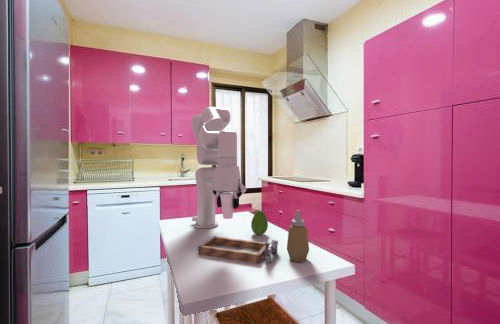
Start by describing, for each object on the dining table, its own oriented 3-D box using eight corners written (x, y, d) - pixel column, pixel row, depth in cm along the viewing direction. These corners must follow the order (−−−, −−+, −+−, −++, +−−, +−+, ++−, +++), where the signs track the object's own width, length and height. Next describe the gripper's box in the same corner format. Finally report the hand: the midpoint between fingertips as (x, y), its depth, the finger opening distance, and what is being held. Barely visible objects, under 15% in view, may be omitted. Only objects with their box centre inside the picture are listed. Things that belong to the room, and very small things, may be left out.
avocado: (259, 238, 115) (259, 212, 115) (248, 234, 121) (247, 209, 121) (271, 234, 120) (271, 210, 120) (260, 231, 126) (259, 207, 126)
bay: (198, 254, 97) (198, 246, 97) (214, 243, 109) (214, 236, 109) (259, 263, 89) (259, 255, 88) (269, 250, 101) (269, 243, 101)
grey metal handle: (263, 264, 88) (263, 242, 88) (272, 251, 99) (272, 232, 99) (269, 265, 87) (269, 243, 87) (278, 252, 99) (278, 232, 98)
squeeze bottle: (304, 265, 87) (304, 214, 86) (283, 260, 91) (283, 211, 91) (312, 257, 94) (312, 209, 93) (291, 253, 98) (291, 207, 97)
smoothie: (222, 220, 95) (222, 183, 95) (217, 216, 101) (217, 181, 101) (238, 218, 98) (238, 182, 98) (232, 215, 104) (232, 181, 103)
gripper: (203, 162, 99) (203, 207, 99) (244, 162, 92) (244, 211, 93) (213, 161, 106) (213, 204, 106) (251, 162, 99) (251, 207, 100)
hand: (227, 207), depth 99 cm, fingers closed on smoothie, 6 cm apart
